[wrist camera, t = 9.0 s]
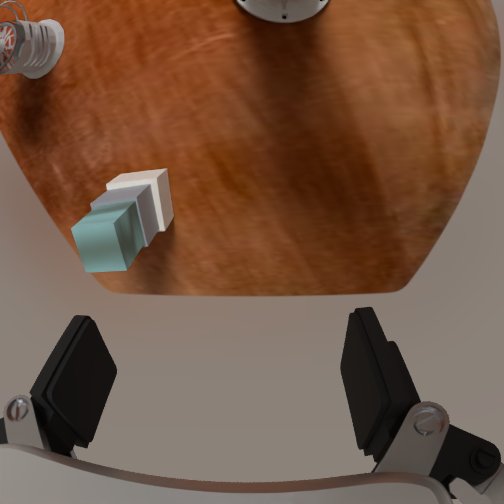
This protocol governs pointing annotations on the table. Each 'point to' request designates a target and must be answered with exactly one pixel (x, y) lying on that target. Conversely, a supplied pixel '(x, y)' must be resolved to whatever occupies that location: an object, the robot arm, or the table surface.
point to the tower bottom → (159, 191)
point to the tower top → (143, 203)
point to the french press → (30, 45)
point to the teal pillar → (109, 237)
